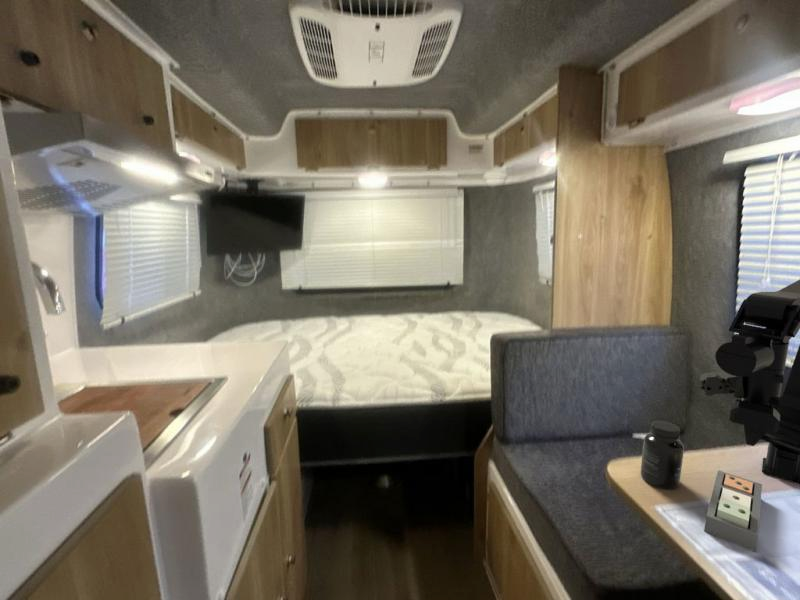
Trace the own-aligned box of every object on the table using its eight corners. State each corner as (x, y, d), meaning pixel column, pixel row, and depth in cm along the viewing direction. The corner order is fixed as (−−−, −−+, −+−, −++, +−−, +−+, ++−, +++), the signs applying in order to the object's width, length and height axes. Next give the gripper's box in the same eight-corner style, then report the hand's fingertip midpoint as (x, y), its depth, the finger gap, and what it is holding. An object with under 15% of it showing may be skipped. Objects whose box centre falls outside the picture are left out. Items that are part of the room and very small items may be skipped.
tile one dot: (721, 499, 76) (723, 487, 75) (749, 509, 73) (751, 496, 72) (718, 510, 73) (720, 497, 72) (747, 521, 70) (750, 508, 70)
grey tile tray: (716, 483, 81) (718, 470, 81) (759, 498, 77) (762, 484, 76) (704, 531, 69) (706, 515, 69) (755, 551, 65) (757, 535, 64)
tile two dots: (718, 510, 71) (720, 497, 71) (748, 521, 69) (750, 507, 68) (715, 522, 69) (717, 508, 68) (746, 534, 66) (748, 520, 65)
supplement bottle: (686, 492, 79) (693, 436, 77) (647, 488, 80) (653, 433, 78) (670, 471, 85) (676, 419, 83) (635, 468, 87) (640, 416, 84)
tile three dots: (724, 485, 80) (726, 473, 79) (751, 494, 77) (753, 482, 76) (722, 495, 77) (723, 483, 76) (749, 505, 74) (751, 492, 73)
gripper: (713, 343, 84) (703, 413, 87) (698, 368, 71) (688, 449, 74) (786, 355, 76) (773, 430, 79) (786, 385, 63) (770, 474, 66)
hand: (750, 444), depth 75 cm, fingers closed
